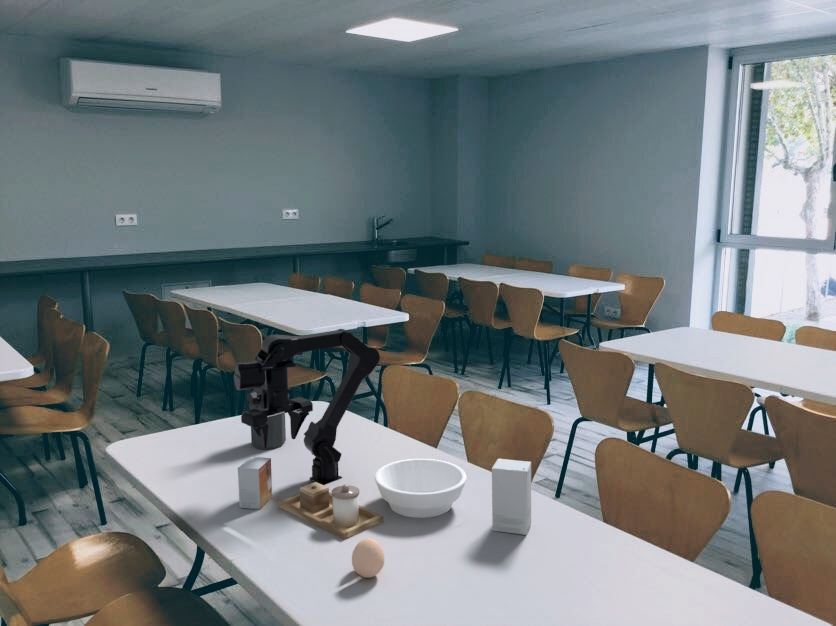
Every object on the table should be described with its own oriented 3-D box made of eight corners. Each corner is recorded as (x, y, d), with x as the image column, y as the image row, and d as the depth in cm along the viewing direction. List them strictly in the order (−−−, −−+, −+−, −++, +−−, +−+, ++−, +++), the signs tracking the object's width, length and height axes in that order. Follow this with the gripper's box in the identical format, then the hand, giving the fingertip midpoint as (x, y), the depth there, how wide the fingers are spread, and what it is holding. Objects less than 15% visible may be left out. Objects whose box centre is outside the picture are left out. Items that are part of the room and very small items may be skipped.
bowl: (479, 497, 187) (479, 466, 186) (444, 535, 167) (445, 501, 166) (399, 482, 197) (399, 453, 195) (358, 517, 176) (357, 484, 175)
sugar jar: (347, 512, 177) (346, 477, 175) (365, 521, 172) (364, 484, 171) (326, 521, 172) (325, 485, 170) (344, 530, 168) (344, 493, 166)
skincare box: (531, 524, 172) (533, 461, 170) (526, 537, 166) (528, 471, 164) (496, 519, 175) (497, 456, 172) (490, 531, 169) (491, 467, 166)
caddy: (317, 495, 188) (317, 487, 188) (383, 524, 172) (383, 515, 172) (279, 510, 180) (278, 501, 179) (344, 542, 164) (344, 533, 163)
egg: (358, 587, 146) (357, 550, 144) (347, 571, 152) (347, 535, 150) (389, 580, 148) (389, 543, 147) (377, 564, 154) (377, 529, 153)
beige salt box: (316, 500, 183) (315, 481, 182) (329, 506, 180) (328, 486, 179) (300, 507, 180) (299, 487, 179) (313, 513, 176) (312, 492, 175)
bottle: (259, 437, 231) (255, 344, 226) (289, 438, 230) (286, 345, 224) (247, 449, 221) (243, 351, 216) (278, 450, 220) (275, 352, 214)
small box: (260, 510, 180) (258, 469, 178) (238, 508, 181) (237, 467, 179) (273, 496, 188) (271, 457, 186) (252, 494, 189) (250, 455, 187)
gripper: (287, 372, 199) (288, 427, 202) (227, 386, 186) (230, 445, 189) (313, 380, 192) (314, 437, 195) (253, 395, 178) (255, 456, 181)
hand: (279, 443), depth 190 cm, fingers open, 9 cm apart
